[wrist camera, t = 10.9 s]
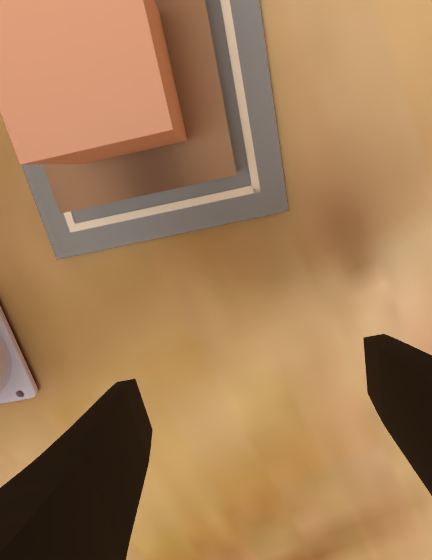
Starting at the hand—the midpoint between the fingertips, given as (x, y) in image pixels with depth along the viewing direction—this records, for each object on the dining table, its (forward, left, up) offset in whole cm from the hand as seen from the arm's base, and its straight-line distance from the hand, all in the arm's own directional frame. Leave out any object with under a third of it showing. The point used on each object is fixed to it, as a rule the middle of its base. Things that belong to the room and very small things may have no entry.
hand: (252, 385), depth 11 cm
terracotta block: (-3, +10, -6) cm, 12 cm away
